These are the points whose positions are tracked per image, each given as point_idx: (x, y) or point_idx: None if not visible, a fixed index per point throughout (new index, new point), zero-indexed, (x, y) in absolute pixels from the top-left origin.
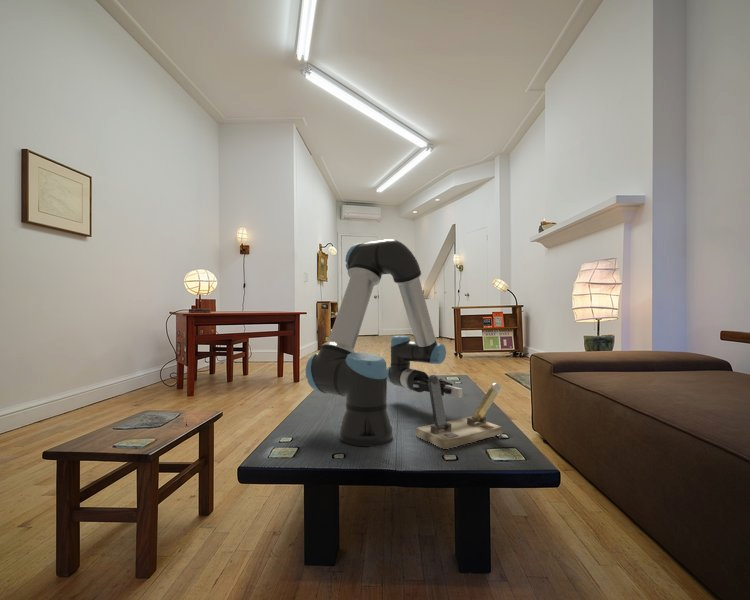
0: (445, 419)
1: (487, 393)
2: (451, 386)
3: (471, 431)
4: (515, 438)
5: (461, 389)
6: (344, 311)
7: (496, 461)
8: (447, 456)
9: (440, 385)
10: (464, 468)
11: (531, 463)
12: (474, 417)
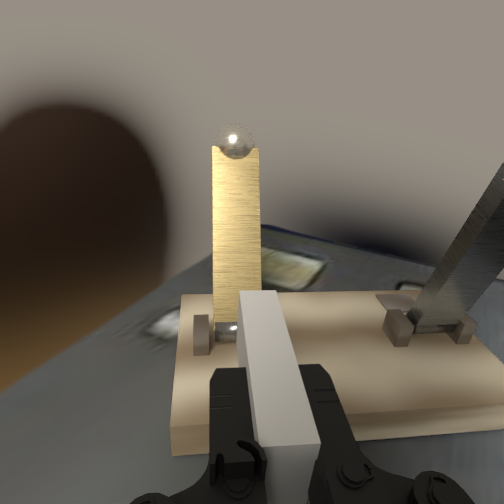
0: (416, 300)
1: (258, 175)
2: (273, 368)
3: (313, 303)
4: (163, 299)
5: (246, 295)
6: None
7: (320, 257)
8: None
9: (374, 490)
10: (399, 261)
11: (261, 238)
12: None
